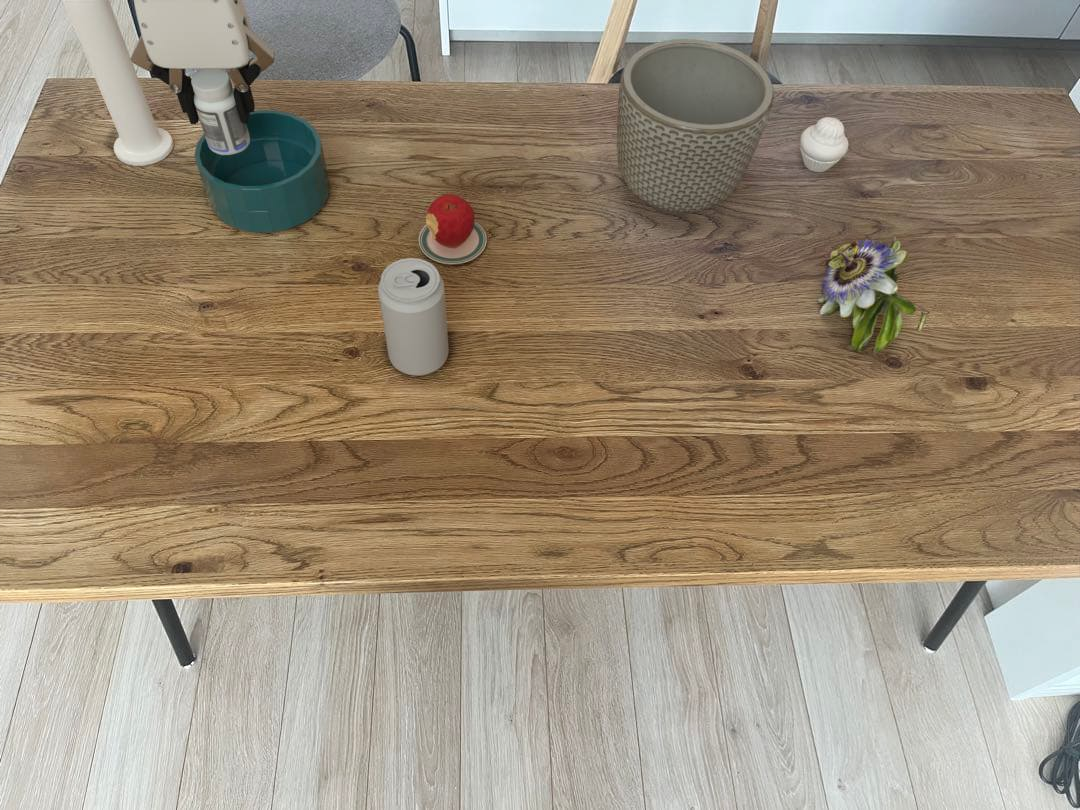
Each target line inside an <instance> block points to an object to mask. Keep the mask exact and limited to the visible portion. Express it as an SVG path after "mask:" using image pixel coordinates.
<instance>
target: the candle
mask: <svg viewBox="0 0 1080 810" xmlns="http://www.w3.org/2000/svg"><path fill="white" fill-rule="evenodd" d="M61 1H62V3H63V6H64V8H65V11H66V14H67V15H68V18H69V21H70V22H71V25H72V27H73V29H74V32H75V35H76V37H77V39H78V41H79V44H80V46H81V49H82V51H83V52H84V55H85V58H86V61H87V62H88V65H89V67H90V70H91V72H92V74H93V77H94V79H95V82H96V84H97V87H98V88H99V91H100V93H101V96H102V98H103V101H104V103H105V105H106V107H107V110H108V112H109V115H110V118H111V120H112V122H113V124H114V127H115V129H116V131H117V134H118V137H117V138H116V139H115V141H114V144H113V152H114V155H115V156H116V159H118V160H119V161H120V162H121V163H123V164H126V165H129V166H134V167H145V166H150V165H154V164H156V163H159V162H161V161H163V160H164V159H166V158H167V157H168V156H169V155H170V154H171V152H172V151H173V148H174V140H173V137H172V135H171V134H170V132H169V131H167V130H166V129H164V128H162V127H159V126H157V124H156V122H155V120H154V116H153V113H152V111H151V108H150V106H149V103H148V99H147V97H146V95H145V92H144V90H143V87H142V84H141V82H140V79H139V76H138V74H137V71H136V68H135V66H134V63H133V62H132V61H131V55H130V52H129V51H128V47H127V45H126V42H125V39H124V37H123V34H122V31H121V28H120V25H119V23H118V20H117V17H116V15H115V12H114V10H113V7H112V4H111V2H110V0H61Z"/></svg>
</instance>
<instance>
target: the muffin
mask: <svg viewBox="0 0 1080 810" xmlns="http://www.w3.org/2000/svg"><path fill="white" fill-rule="evenodd" d="M799 148H800V149H799V150H800V155H801V158H802V161H803V164H804V166H805V168H806V169H808V170H809V171H810V172H814V173H823V172H826V171H828V170H829V169H831V168H832V167H833V166H834V165H836V164H837V163H838V162H839V161H840V160H841V159H842V158H843V157H844V156H845V155H846V154H847V152H848V149H849V140H848V137H846V135H845V127H844V124H843V122H842V121H840V119H838V118H836V117H832V116H829V117H828V116H825V117H822V118H820V119H819V120H818V121H816V124H812V125H810V126H808V127H807V128H806V129H804V130H803V131H802V133H801V135H800V139H799Z"/></svg>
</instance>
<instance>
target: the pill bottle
mask: <svg viewBox="0 0 1080 810" xmlns="http://www.w3.org/2000/svg"><path fill="white" fill-rule="evenodd" d="M191 79H192V80H191V83H192V87H193V91H194V93H195V95H194V104H195V107H196V110H197V113H198V117H199V120H198V121H199V122H200V123H199V124H200V125H201V129H202V131H203V134H204V135H205V138H206V141H207V144H208V146H209V148H210V149H211V150H212V151H213V152H215V153H217V154H220V155H232V154H236V153H239V152H241V151H243V150H244V149H246V148H247V146H248V145H249V143H250V136H249V132H248V129H247V125H246V124H243V123H241V121H240V117H239V114H238V110H237V106H236V103H235V99H234V95H233V93H234V88H235V87H233V84H232V83H233V82H232V80H231V78H230V76H229V75H228V73H227V71H226V70H225V69H224V70H223V68H212V69H200V70H199V71H196V72H195V74H194V75H193V76H192V77H191Z"/></svg>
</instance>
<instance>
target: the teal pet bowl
mask: <svg viewBox="0 0 1080 810" xmlns="http://www.w3.org/2000/svg"><path fill="white" fill-rule="evenodd" d="M246 125H247V129H248V132H249V136H250V143H249V145H248V146H247V148H246V149H244V150H243V151H241V152H239V153H236V154H232V155H220V154H217V153H215V152H213V151H212V150H211V149H210V148H209V146H208V144H207V141H206V138H205V135H204V133H202V135H201V137H200V138H199V139H198V141H197V142H196V146H195V150H194V154H193V155H194V160H195V163H196V167H197V170H198V173H199V176H200V178H201V182H202V185H203V188H204V190H205V194H206V196H207V199H208V202H209V205H210V208H211V210H212V212H213V213H214V214H215V215H216V216H217V218H218V219H219V220H220V221H221V222H223V223H224V224H226V225H228V226H230V227H232V228H234V229H235V230H236V229H237V230H240V231H241V230H242V231H245V232H251V233H275V232H279V231H284V230H287V229H292V228H295V227H297V226H299V225H301V224H303V223H305V222H307V221H309V220H310V219H312V218H313V217H314V216H315V215H316V214H317V213H319V212H320V211H321V210H322V209H323V208H324V205H325V204H326V202H327V200H328V198H329V196H330V180H329V175H328V174H329V173H328V169H327V163H326V158H325V154H324V147H323V143H322V139H321V136H320V135H319V132H318V130H317V129H316V128H315V126H313V125H312V124H311V123H310V122H309V121H308V120H307V119H305V118H302V117H300V116H298V115H296V114H294V113H291V112H287V111H280V110H276V109H256V110H255V109H254V112H250V116H249V122H248V124H246Z"/></svg>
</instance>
